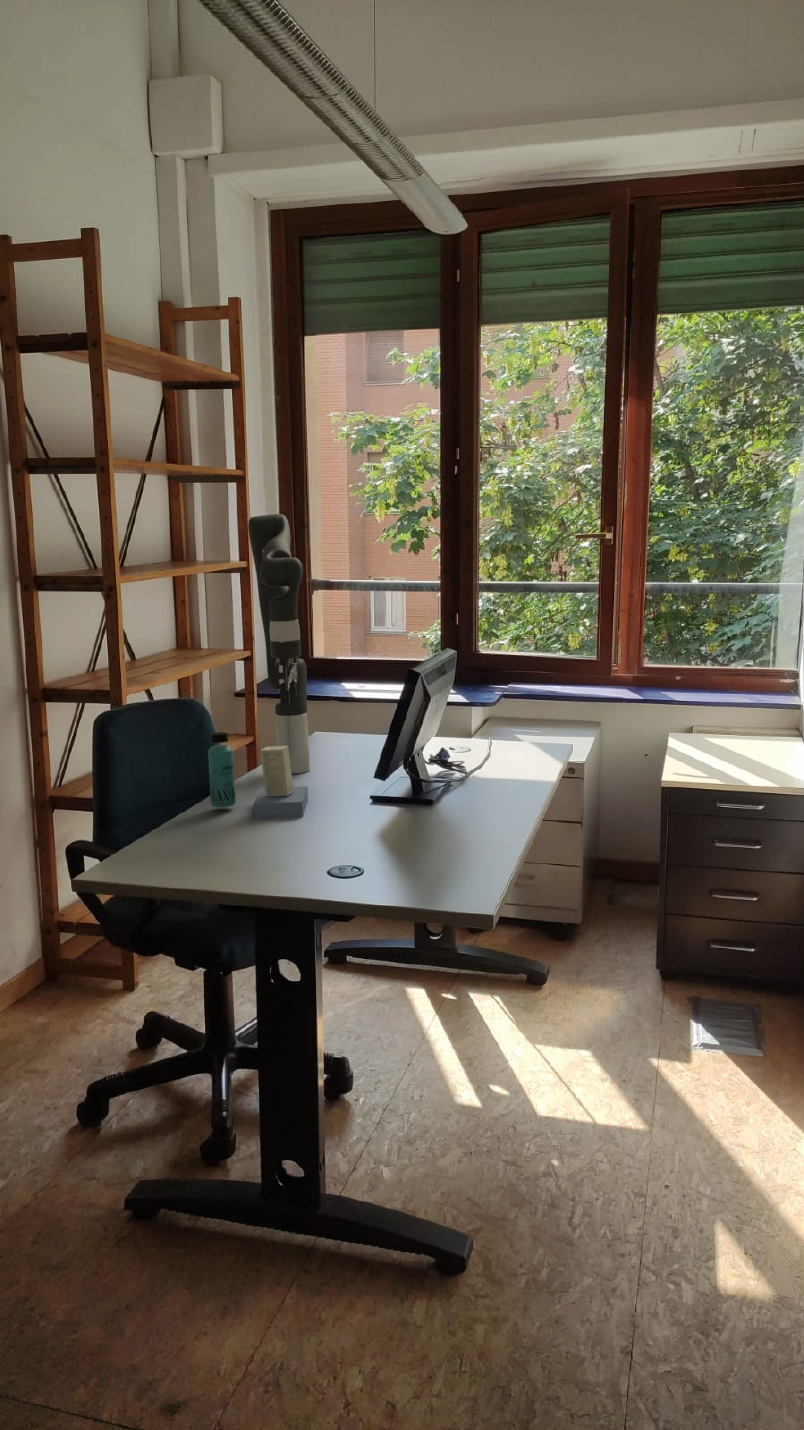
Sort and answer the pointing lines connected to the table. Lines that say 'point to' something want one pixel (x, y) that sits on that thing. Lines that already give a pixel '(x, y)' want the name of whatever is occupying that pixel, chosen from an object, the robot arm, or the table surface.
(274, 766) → the skincare box
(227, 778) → the beverage bottle
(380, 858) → the table surface
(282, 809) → the flat grey slab
